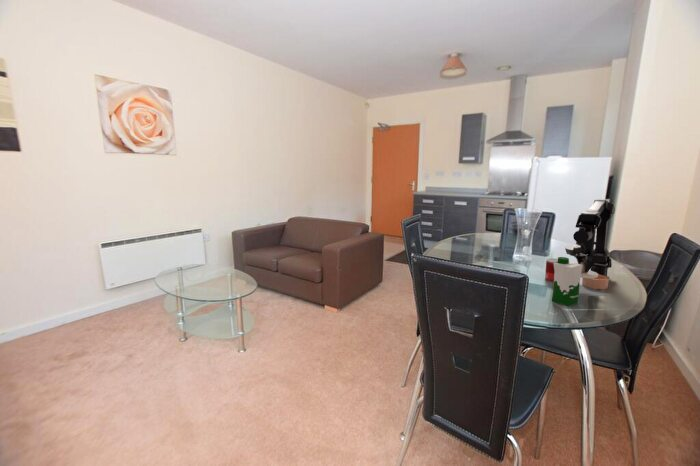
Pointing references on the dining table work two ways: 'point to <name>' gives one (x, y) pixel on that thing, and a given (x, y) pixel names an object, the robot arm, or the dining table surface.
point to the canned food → (550, 269)
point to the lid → (587, 274)
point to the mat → (589, 291)
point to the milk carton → (566, 281)
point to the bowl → (596, 282)
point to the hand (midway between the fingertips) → (583, 271)
